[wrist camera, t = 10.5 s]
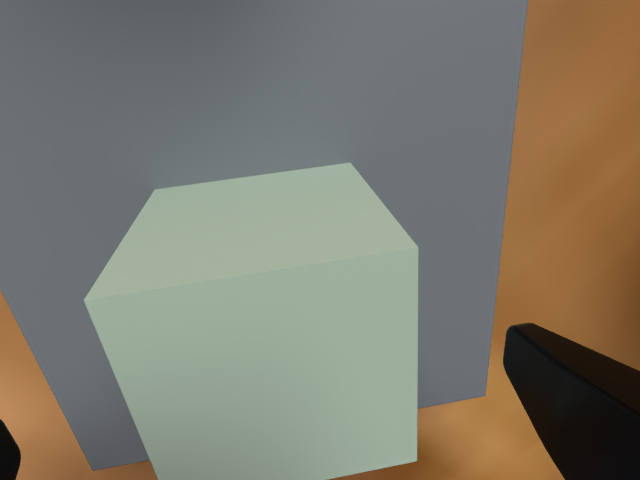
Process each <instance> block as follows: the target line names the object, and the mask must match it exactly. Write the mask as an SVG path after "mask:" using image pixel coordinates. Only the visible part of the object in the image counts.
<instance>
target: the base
mask: <svg viewBox="0 0 640 480" xmlns="http://www.w3.org/2000/svg"><path fill="white" fill-rule="evenodd" d="M527 4H528V0H0V290H1V292H2V294H3V296H4V298H5V300H6V302H7V304H8V305H9V307H10V309H11V311H12V313H13V315H14V317H15V319H16V321H17V323H18V325H19V327H20V329H21V331H22V333H23V335H24V337H25V339H26V341H27V343H28V345H29V347H30V349H31V351H32V353H33V355H34V356H35V358H36V360H37V362H38V364H39V366H40V368H41V370H42V372H43V374H44V376H45V378H46V380H47V382H48V384H49V386H50V388H51V390H52V392H53V394H54V396H55V398H56V400H57V402H58V404H59V406H60V408H61V409H62V411H63V413H64V415H65V417H66V419H67V421H68V423H69V425H70V427H71V429H72V431H73V433H74V435H75V437H76V439H77V441H78V443H79V445H80V447H81V449H82V451H83V453H84V455H85V457H86V459H87V460H88V462H89V464H90V466H91V468H92V470H93V471H95V470H100V469H105V468H110V467H116V466H121V465H126V464H131V463H137V462H142V461H147V460H150V459H149V456H148V454H147V451H146V449H145V447H144V444H143V442H142V439H141V437H140V435H139V432H138V430H137V427H136V425H135V423H134V420H133V418H132V415H131V413H130V411H129V408H128V406H127V403H126V401H125V399H124V396H123V394H122V391H121V389H120V386H119V384H118V382H117V379H116V377H115V374H114V372H113V370H112V367H111V365H110V362H109V360H108V358H107V355H106V353H105V350H104V348H103V346H102V343H101V341H100V338H99V336H98V334H97V331H96V329H95V326H94V324H93V322H92V319H91V317H90V314H89V312H88V309H87V307H86V305H85V302H84V299H85V297H86V296H87V294H88V293H89V291H90V290H91V288H92V287H93V285H94V283H95V282H96V280H97V279H98V277H99V276H100V274H101V273H102V271H103V269H104V268H105V266H106V265H107V263H108V262H109V260H110V258H111V257H112V255H113V254H114V252H115V251H116V249H117V248H118V246H119V244H120V243H121V241H122V240H123V238H124V237H125V235H126V233H127V232H128V230H129V229H130V227H131V226H132V224H133V223H134V221H135V219H136V218H137V216H138V215H139V213H140V212H141V210H142V209H143V207H144V205H145V204H146V202H147V201H148V199H149V198H150V196H151V194H152V193H153V191H154V190H155V189H162V188H169V187H176V186H184V185H191V184H198V183H205V182H213V181H220V180H227V179H235V178H242V177H249V176H256V175H264V174H271V173H278V172H285V171H293V170H300V169H307V168H314V167H322V166H329V165H336V164H343V163H351V164H352V165H353V166H354V168H355V169H356V170H357V171H358V173H359V174H360V175H361V176H362V178H363V179H364V180H365V181H366V183H367V184H368V185H369V186H370V188H371V189H372V190H373V191H374V193H375V194H376V195H377V196H378V198H379V199H380V200H381V201H382V203H383V204H384V205H385V206H386V208H387V209H388V210H389V211H390V213H391V214H392V215H393V216H394V218H395V219H396V220H397V221H398V223H399V224H400V225H401V226H402V228H403V229H404V230H405V231H406V233H407V234H408V235H409V236H410V238H411V239H412V240H413V241H414V243H415V244H416V245H417V246H418V385H417V409H419V408H425V407H430V406H435V405H440V404H445V403H451V402H456V401H461V400H466V399H472V398H477V397H482V396H485V394H486V385H487V376H488V366H489V357H490V348H491V339H492V329H493V320H494V311H495V301H496V292H497V283H498V274H499V264H500V255H501V246H502V236H503V227H504V218H505V208H506V199H507V190H508V181H509V171H510V162H511V153H512V143H513V134H514V125H515V116H516V106H517V97H518V88H519V78H520V69H521V60H522V51H523V41H524V32H525V23H526V13H527Z"/></svg>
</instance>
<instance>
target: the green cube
mask: <svg viewBox="0 0 640 480" xmlns="http://www.w3.org/2000/svg"><path fill="white" fill-rule="evenodd" d="M84 302H85V305H86V307H87V309H88V312H89V314H90V317H91V319H92V322H93V324H94V326H95V329H96V331H97V334H98V336H99V338H100V341H101V343H102V346H103V348H104V350H105V353H106V355H107V358H108V360H109V362H110V365H111V367H112V370H113V372H114V374H115V377H116V379H117V382H118V384H119V386H120V389H121V391H122V394H123V396H124V399H125V401H126V403H127V406H128V408H129V411H130V413H131V415H132V418H133V420H134V423H135V425H136V427H137V430H138V432H139V435H140V437H141V439H142V442H143V444H144V447H145V449H146V451H147V454H148V456H149V459H150V461H151V463H152V466H153V468H154V471H155V473H156V476H157V478H158V480H327V479H332V478H337V477H342V476H347V475H352V474H357V473H362V472H367V471H371V470H376V469H381V468H386V467H391V466H396V465H401V464H406V463H411V462H415V461H417V385H418V246H417V245H416V244H415V243H414V241H413V240H412V239H411V238H410V236H409V235H408V234H407V233H406V231H405V230H404V229H403V228H402V226H401V225H400V224H399V223H398V221H397V220H396V219H395V218H394V216H393V215H392V214H391V213H390V211H389V210H388V209H387V208H386V206H385V205H384V204H383V203H382V201H381V200H380V199H379V198H378V196H377V195H376V194H375V193H374V191H373V190H372V189H371V188H370V186H369V185H368V184H367V183H366V181H365V180H364V179H363V178H362V176H361V175H360V174H359V173H358V171H357V170H356V169H355V168H354V166H353V165H352V164H351V163H343V164H336V165H329V166H322V167H314V168H307V169H300V170H293V171H285V172H278V173H271V174H264V175H256V176H249V177H242V178H235V179H227V180H220V181H213V182H205V183H198V184H191V185H184V186H176V187H169V188H162V189H155V190H154V191H153V193H152V194H151V196H150V198H149V199H148V201H147V202H146V204H145V205H144V207H143V209H142V210H141V212H140V213H139V215H138V216H137V218H136V219H135V221H134V223H133V224H132V226H131V227H130V229H129V230H128V232H127V233H126V235H125V237H124V238H123V240H122V241H121V243H120V244H119V246H118V248H117V249H116V251H115V252H114V254H113V255H112V257H111V258H110V260H109V262H108V263H107V265H106V266H105V268H104V269H103V271H102V273H101V274H100V276H99V277H98V279H97V280H96V282H95V283H94V285H93V287H92V288H91V290H90V291H89V293H88V294H87V296H86V297H85V299H84Z"/></svg>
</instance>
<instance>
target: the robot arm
mask: <svg viewBox="0 0 640 480" xmlns="http://www.w3.org/2000/svg"><path fill="white" fill-rule="evenodd" d="M503 364H504V368H505V371H506V374H507V376H508V378H509V379H510V381H511V383H512V385H513V387H514V389H515V391H516V393H517V395H518V397H519V399H520V401H521V403H522V405H523V407H524V409H525V411H526V412H527V414H528V416H529V418H530V420H531V422H532V424H533V426H534V428H535V430H536V432H537V434H538V436H539V438H540V439H541V441H542V443H543V445H544V447H545V449H546V450H547V452H548V453H549V455H550V457H551V458H552V460H553V462H554V463H555V465H556V466H557V468H558V469H559V471H560V472H561V474H562V476H563V477H564V479H565V480H640V371H638V370H636V369H634V368H632V367H629V366H627V365H625V364H623V363H620V362H618V361H616V360H614V359H611V358H609V357H607V356H605V355H603V354H600V353H598V352H596V351H594V350H591V349H589V348H587V347H585V346H582V345H580V344H578V343H576V342H573V341H571V340H569V339H567V338H565V337H562V336H560V335H558V334H556V333H553V332H551V331H549V330H547V329H544V328H542V327H540V326H538V325H535V324H533V323H524V324H518V325H513V326H510V327H509V328H508V330H507V333H506V341H505V348H504V356H503ZM20 461H21V453H20V449H19V447H18V445H17V444H16V442H15V440H14V439H13V437H12V435H11V434H10V432H9V431H8V429H7V427H6V426H5V424H4V422H3V421H2V420H0V480H16V476H17V473H18V470H19V466H20Z"/></svg>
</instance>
